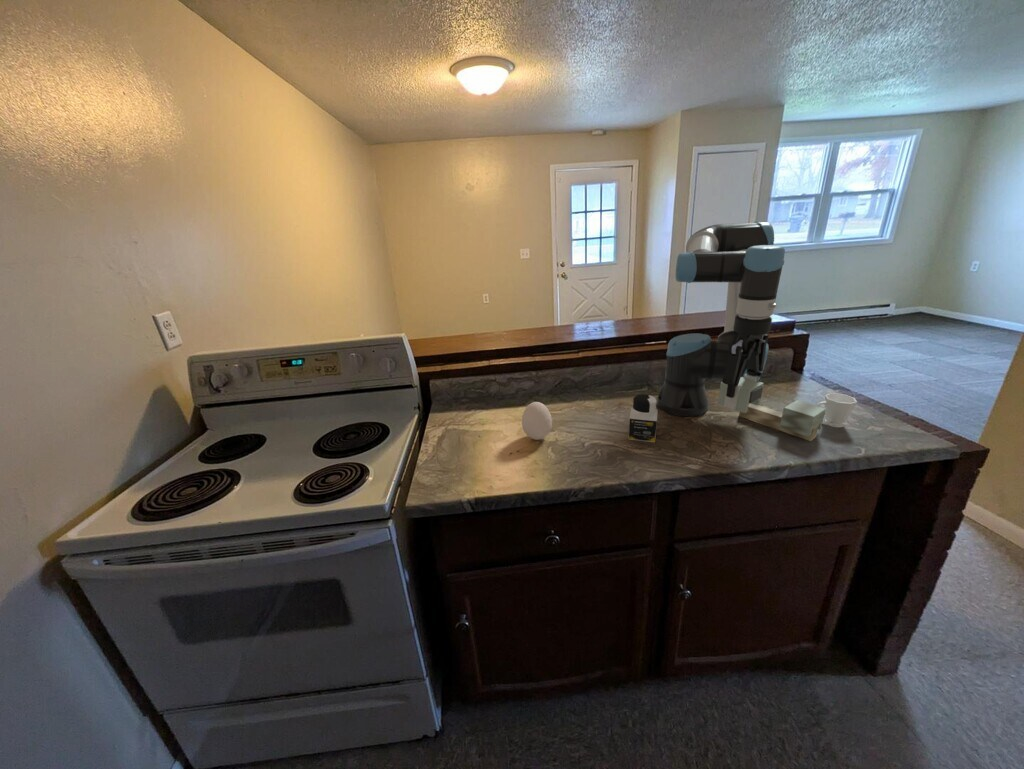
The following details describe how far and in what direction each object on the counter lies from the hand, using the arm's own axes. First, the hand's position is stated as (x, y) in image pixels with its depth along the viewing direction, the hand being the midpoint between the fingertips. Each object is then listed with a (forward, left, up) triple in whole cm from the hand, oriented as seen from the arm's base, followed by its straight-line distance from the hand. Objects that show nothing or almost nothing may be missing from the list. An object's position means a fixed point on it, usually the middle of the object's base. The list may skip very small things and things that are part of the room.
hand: (738, 402), depth 102 cm
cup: (+11, +30, -12) cm, 34 cm away
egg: (-36, -38, -12) cm, 54 cm away
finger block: (0, 0, 0) cm, 0 cm away
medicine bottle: (-18, -14, -12) cm, 26 cm away
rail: (+3, +18, -12) cm, 22 cm away
